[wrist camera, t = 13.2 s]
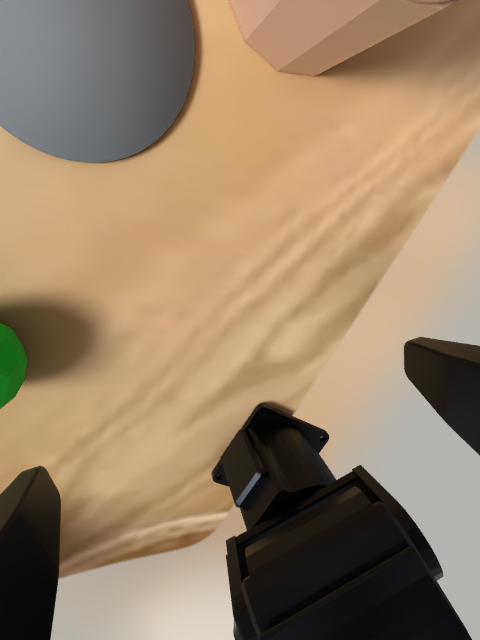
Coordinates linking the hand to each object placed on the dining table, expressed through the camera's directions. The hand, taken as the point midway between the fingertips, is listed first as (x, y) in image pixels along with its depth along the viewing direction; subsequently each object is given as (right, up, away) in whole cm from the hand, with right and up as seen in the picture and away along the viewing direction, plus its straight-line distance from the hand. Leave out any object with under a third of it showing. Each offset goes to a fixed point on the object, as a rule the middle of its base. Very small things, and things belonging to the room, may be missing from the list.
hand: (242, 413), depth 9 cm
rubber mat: (-7, +14, +7) cm, 17 cm away
